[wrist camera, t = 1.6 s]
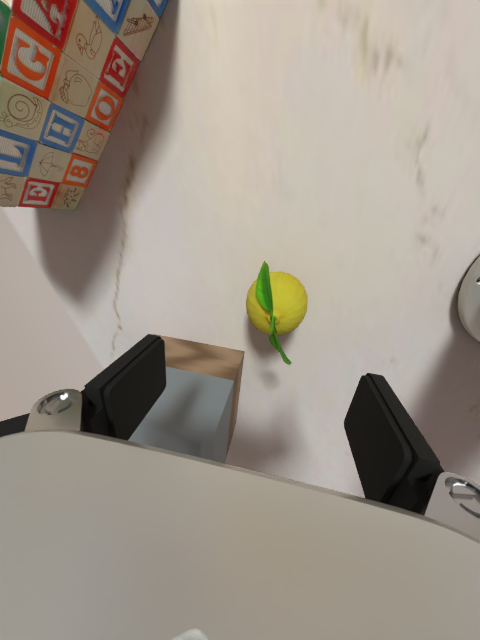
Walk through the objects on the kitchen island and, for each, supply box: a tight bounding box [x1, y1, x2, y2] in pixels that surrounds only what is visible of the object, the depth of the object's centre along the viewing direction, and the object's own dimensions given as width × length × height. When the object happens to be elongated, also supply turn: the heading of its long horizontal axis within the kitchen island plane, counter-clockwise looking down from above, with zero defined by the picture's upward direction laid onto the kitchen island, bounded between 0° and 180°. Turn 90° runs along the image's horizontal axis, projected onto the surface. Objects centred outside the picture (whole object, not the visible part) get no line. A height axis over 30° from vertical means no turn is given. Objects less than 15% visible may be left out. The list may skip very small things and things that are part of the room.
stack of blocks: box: [0, 0, 168, 210], centre depth 15 cm, size 21×6×12 cm, turn 137°
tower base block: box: [154, 334, 244, 456], centre depth 29 cm, size 12×12×6 cm
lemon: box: [246, 261, 307, 365], centre depth 20 cm, size 7×6×10 cm
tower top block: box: [128, 366, 234, 463], centre depth 23 cm, size 12×12×6 cm
